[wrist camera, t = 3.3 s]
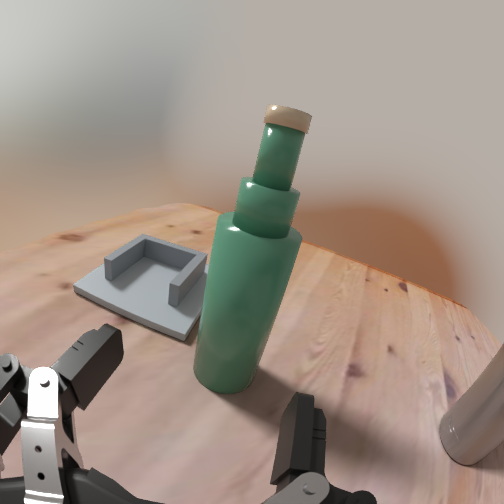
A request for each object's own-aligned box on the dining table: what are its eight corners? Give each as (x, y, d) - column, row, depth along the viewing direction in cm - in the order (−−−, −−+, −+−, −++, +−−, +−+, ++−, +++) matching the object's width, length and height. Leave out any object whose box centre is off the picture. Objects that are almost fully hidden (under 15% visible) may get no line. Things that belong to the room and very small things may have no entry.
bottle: (258, 358, 27) (330, 127, 18) (246, 401, 22) (341, 118, 13) (204, 341, 28) (253, 107, 19) (184, 380, 22) (233, 92, 13)
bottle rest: (224, 275, 42) (229, 252, 40) (184, 341, 27) (187, 312, 25) (136, 246, 43) (138, 224, 41) (74, 291, 28) (70, 263, 27)
